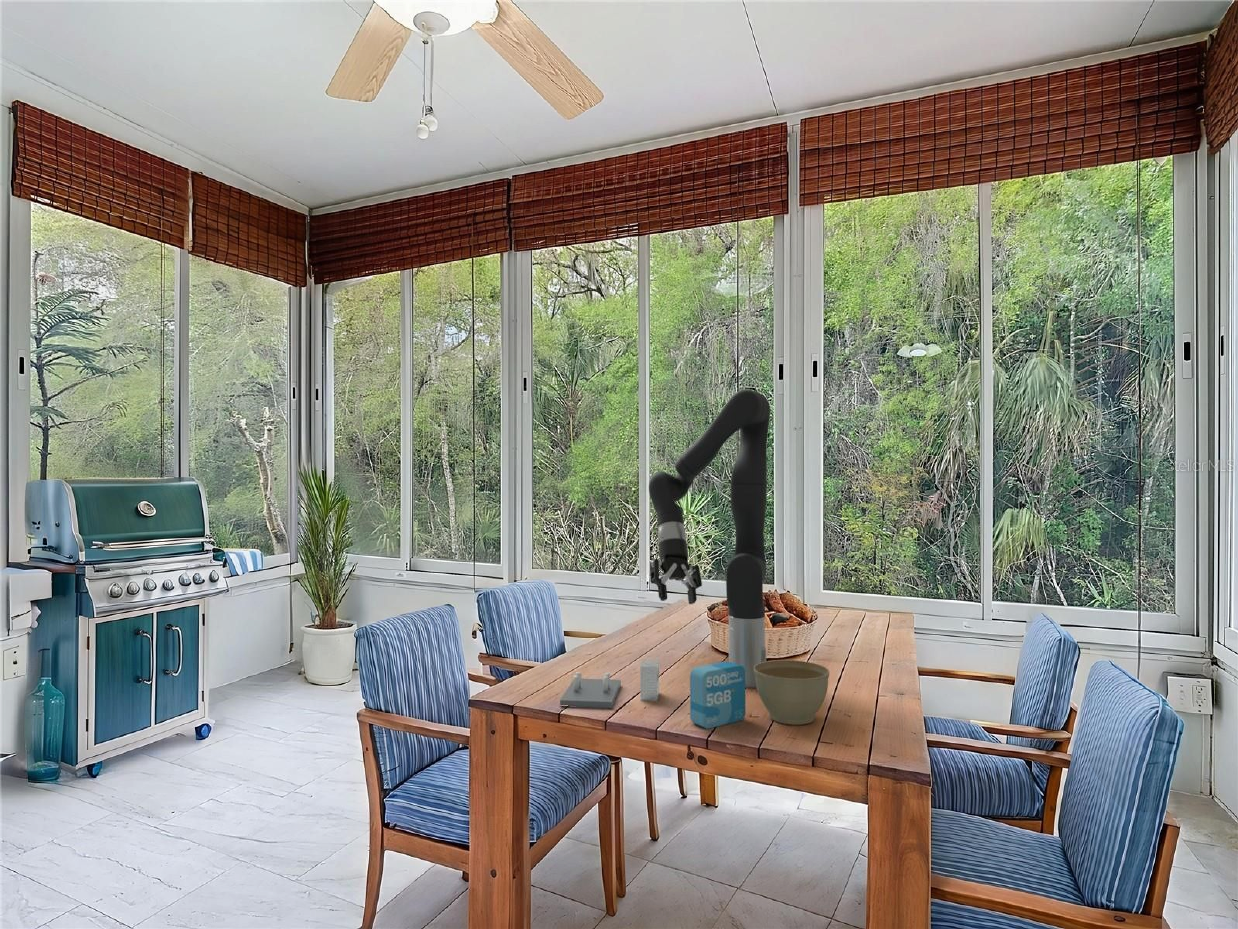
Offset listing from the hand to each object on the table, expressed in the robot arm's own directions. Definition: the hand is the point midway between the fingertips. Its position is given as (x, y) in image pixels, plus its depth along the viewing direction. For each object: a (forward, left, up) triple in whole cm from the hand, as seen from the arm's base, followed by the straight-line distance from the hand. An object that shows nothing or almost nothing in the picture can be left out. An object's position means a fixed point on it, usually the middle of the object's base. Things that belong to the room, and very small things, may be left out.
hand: (678, 601), depth 179 cm
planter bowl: (-25, +21, -22) cm, 40 cm away
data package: (-9, +25, -22) cm, 35 cm away
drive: (+7, +9, -21) cm, 24 cm away
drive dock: (+21, +10, -21) cm, 31 cm away
